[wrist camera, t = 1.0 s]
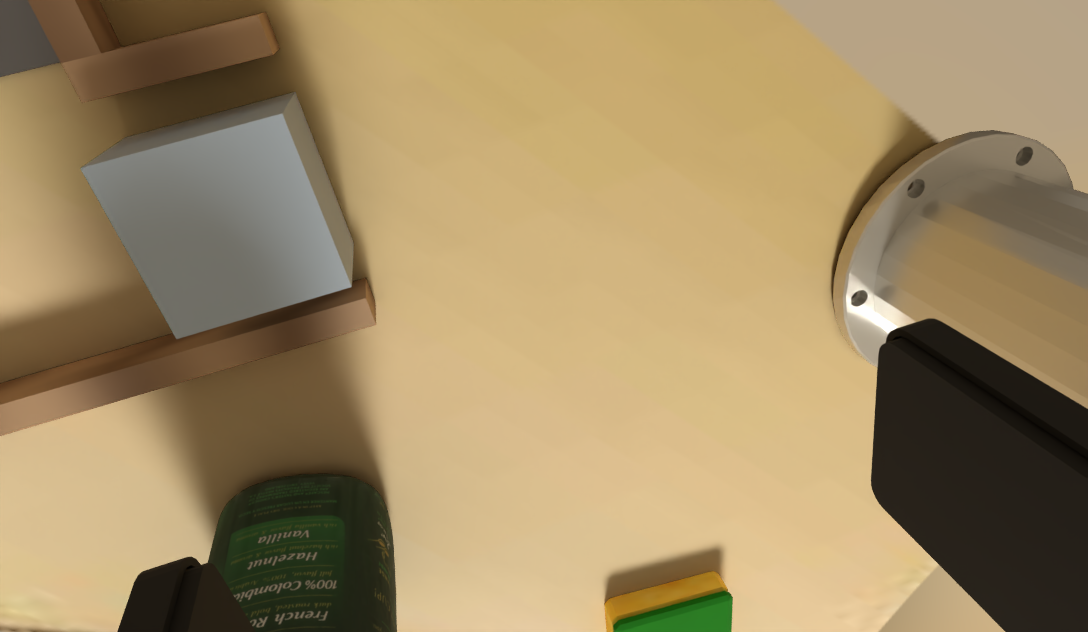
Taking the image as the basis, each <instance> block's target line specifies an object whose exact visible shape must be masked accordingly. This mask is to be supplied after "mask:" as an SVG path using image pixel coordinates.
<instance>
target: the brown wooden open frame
mask: <svg viewBox="0 0 1088 632" xmlns="http://www.w3.org/2000/svg"><path fill="white" fill-rule="evenodd" d="M279 49H280V48H279V45H278V43H277V40H276V37H275V35H274V32H273V29H272V27H271V24H270V21H269V19H268V16H267V13H266V12H263V13H259V14H255V15H251V16H246V17H242V18H238V19H234V20H230V21H226V22H222V23H218V24H214V25H210V26H206V27H202V28H197V29H193V30H189V31H185V32H181V33H177V34H173V35H169V36H165V37H161V38H157V39H153V40H149V41H144V42H140V43H136V44H132V45H128V46H124V47H121V45H120V43H119V41H118V39H117V37H116V35H115V33H114V31H113V29H112V26H111V24H110V22H109V20H108V18H107V16H106V14H105V12H104V10H103V8H102V6H101V4H100V2H99V0H0V77H2V76H6V75H10V74H14V73H18V72H22V71H27V70H31V69H35V68H39V67H43V66H47V65H51V64H55V63H59V62H61V64H62V66H63V68H64V70H65V72H66V74H67V76H68V78H69V80H70V81H71V83H72V85H73V87H74V89H75V91H76V93H77V95H78V97H79V98H80V100H81V102H82V103H84V102H88V101H92V100H96V99H100V98H104V97H108V96H111V95H115V94H119V93H123V92H127V91H131V90H135V89H139V88H143V87H147V86H151V85H155V84H159V83H163V82H167V81H171V80H175V79H179V78H183V77H187V76H191V75H195V74H199V73H203V72H207V71H211V70H215V69H219V68H223V67H227V66H231V65H235V64H239V63H243V62H247V61H251V60H255V59H259V58H262V57H266V56H270V55H273V54H275V53H276V52H277V51H278V50H279ZM373 325H376V308H375V301H374V298H373V296H372V293H371V290H370V288H369V285H368V282H367V280H366V278H363V279H360V280H357V281H353V282H352V287H350V288H347V289H343V290H340V291H336V292H333V293H330V294H326V295H323V296H320V297H316V298H313V299H310V300H306V301H303V302H300V303H296V304H293V305H290V306H286V307H283V308H280V309H276V310H273V311H269V312H266V313H263V314H259V315H256V316H253V317H249V318H246V319H243V320H239V321H236V322H233V323H229V324H226V325H223V326H219V327H216V328H213V329H209V330H206V331H203V332H199V333H196V334H192V335H189V336H186V337H182V338H179V339H176V338H175V336H174V334H170V335H166V336H163V337H159V338H156V339H152V340H149V341H145V342H142V343H138V344H135V345H132V346H128V347H125V348H121V349H118V350H114V351H111V352H107V353H104V354H100V355H97V356H93V357H90V358H87V359H83V360H80V361H76V362H73V363H69V364H66V365H62V366H59V367H55V368H52V369H48V370H45V371H42V372H38V373H35V374H31V375H28V376H24V377H21V378H17V379H14V380H10V381H7V382H3V383H0V436H2V435H5V434H9V433H12V432H15V431H19V430H22V429H26V428H29V427H32V426H36V425H39V424H42V423H46V422H49V421H53V420H56V419H59V418H63V417H66V416H69V415H73V414H76V413H80V412H83V411H86V410H90V409H93V408H96V407H100V406H103V405H106V404H110V403H113V402H117V401H120V400H123V399H127V398H130V397H133V396H137V395H140V394H144V393H147V392H150V391H154V390H157V389H160V388H164V387H167V386H171V385H174V384H177V383H181V382H184V381H187V380H191V379H194V378H198V377H201V376H204V375H208V374H211V373H214V372H218V371H221V370H225V369H228V368H231V367H235V366H238V365H241V364H245V363H248V362H252V361H255V360H258V359H262V358H265V357H268V356H272V355H275V354H279V353H282V352H285V351H289V350H292V349H295V348H299V347H302V346H306V345H309V344H312V343H316V342H319V341H322V340H326V339H329V338H333V337H336V336H339V335H343V334H346V333H349V332H353V331H356V330H359V329H363V328H366V327H370V326H373Z"/></svg>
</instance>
